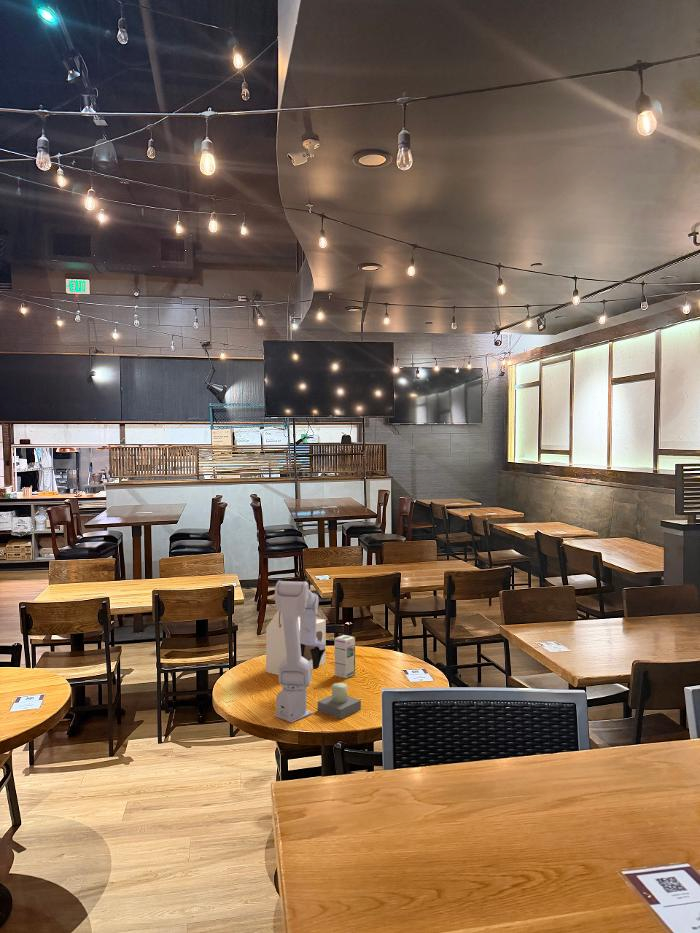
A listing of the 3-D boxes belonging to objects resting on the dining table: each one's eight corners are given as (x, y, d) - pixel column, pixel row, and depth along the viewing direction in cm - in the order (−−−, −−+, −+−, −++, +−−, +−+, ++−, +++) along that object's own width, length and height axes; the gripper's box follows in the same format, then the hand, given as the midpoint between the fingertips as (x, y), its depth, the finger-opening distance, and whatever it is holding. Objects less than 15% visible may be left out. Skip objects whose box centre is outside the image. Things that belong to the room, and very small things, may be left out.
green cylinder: (340, 705, 198) (340, 689, 197) (328, 701, 201) (328, 685, 201) (350, 700, 201) (350, 685, 201) (338, 696, 205) (339, 681, 205)
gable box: (299, 657, 255) (300, 589, 255) (326, 662, 248) (326, 593, 248) (265, 672, 236) (265, 599, 236) (292, 679, 229) (293, 604, 229)
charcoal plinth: (340, 719, 194) (340, 709, 194) (317, 710, 200) (317, 701, 200) (360, 709, 202) (360, 700, 201) (338, 701, 208) (338, 692, 208)
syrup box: (346, 679, 230) (346, 640, 230) (333, 675, 233) (334, 637, 233) (355, 674, 234) (355, 636, 234) (343, 671, 238) (343, 634, 238)
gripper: (331, 628, 214) (331, 667, 214) (301, 621, 223) (301, 658, 224) (317, 632, 209) (317, 672, 209) (287, 625, 218) (287, 663, 218)
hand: (308, 665), depth 216 cm, fingers open, 7 cm apart
